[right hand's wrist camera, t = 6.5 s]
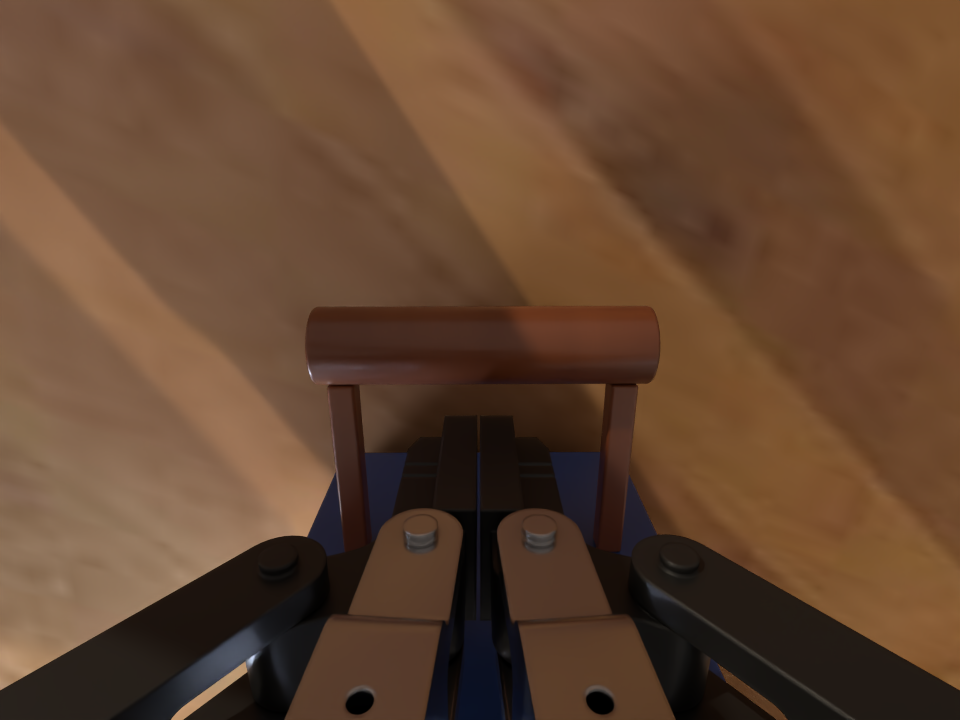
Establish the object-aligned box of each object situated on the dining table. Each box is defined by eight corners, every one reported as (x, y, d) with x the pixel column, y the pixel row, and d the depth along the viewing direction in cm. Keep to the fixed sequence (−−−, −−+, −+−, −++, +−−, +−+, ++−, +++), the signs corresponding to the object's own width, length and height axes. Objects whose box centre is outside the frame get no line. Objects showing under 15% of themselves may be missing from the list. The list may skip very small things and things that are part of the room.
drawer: (325, 265, 16) (145, 401, 7) (637, 264, 16) (824, 398, 7) (371, 732, 23) (306, 1090, 14) (591, 731, 23) (661, 1088, 14)
